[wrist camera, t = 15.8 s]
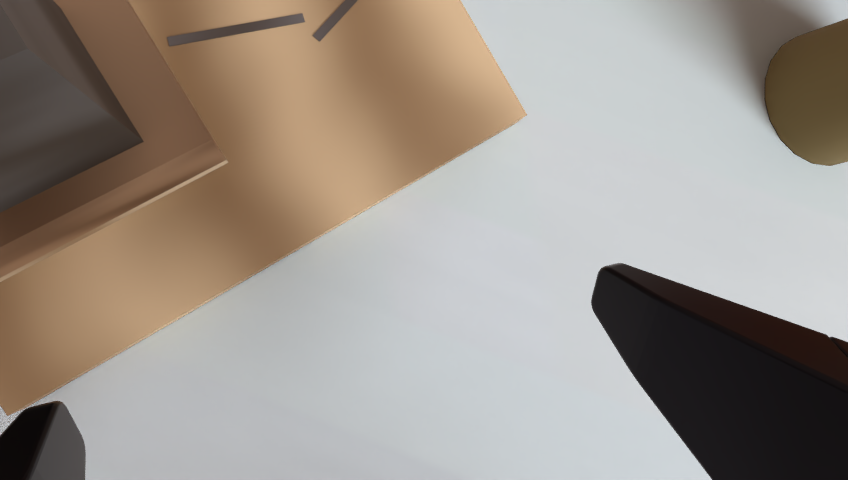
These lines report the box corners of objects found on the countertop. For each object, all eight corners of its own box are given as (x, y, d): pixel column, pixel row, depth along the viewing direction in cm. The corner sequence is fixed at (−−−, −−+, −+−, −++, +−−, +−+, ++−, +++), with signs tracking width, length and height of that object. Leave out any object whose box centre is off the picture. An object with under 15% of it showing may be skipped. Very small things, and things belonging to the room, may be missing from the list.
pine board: (382, -107, 20) (386, -128, 18) (516, 122, 20) (527, 114, 19) (-157, 125, 15) (-190, 115, 14) (26, 407, 16) (6, 416, 15)
